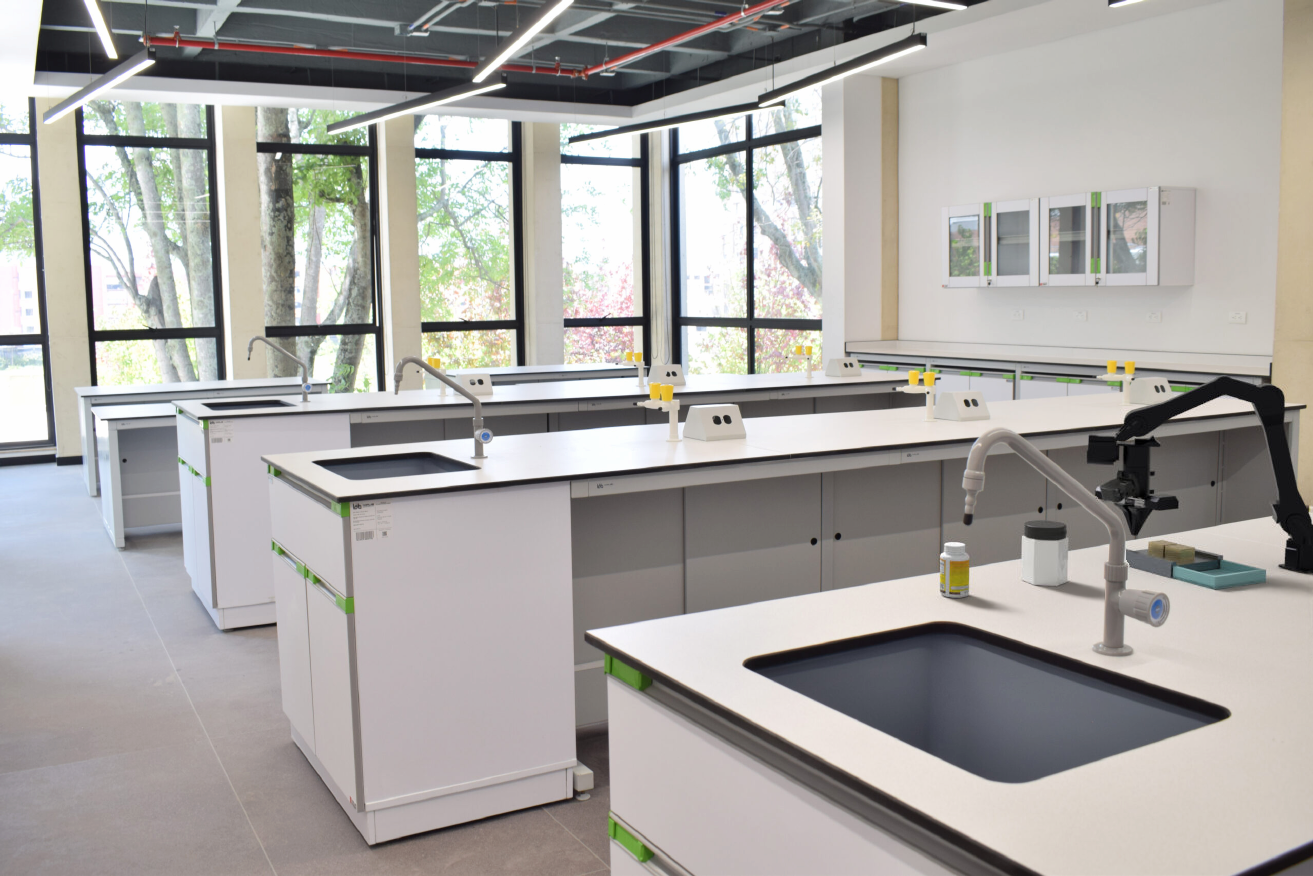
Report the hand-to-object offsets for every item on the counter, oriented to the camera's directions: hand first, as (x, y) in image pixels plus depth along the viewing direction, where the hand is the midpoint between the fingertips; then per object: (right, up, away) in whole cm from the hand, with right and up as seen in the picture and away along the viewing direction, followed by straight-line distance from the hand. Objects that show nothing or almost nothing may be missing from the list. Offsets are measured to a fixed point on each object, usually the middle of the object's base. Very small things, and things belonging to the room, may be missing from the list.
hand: (1134, 535), depth 233 cm
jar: (-27, -8, -18) cm, 33 cm away
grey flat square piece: (+4, -6, -9) cm, 11 cm away
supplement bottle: (-48, -9, -27) cm, 56 cm away
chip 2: (+4, -4, -11) cm, 13 cm away
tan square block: (+3, -3, -7) cm, 8 cm away
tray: (+8, -7, -20) cm, 23 cm away
